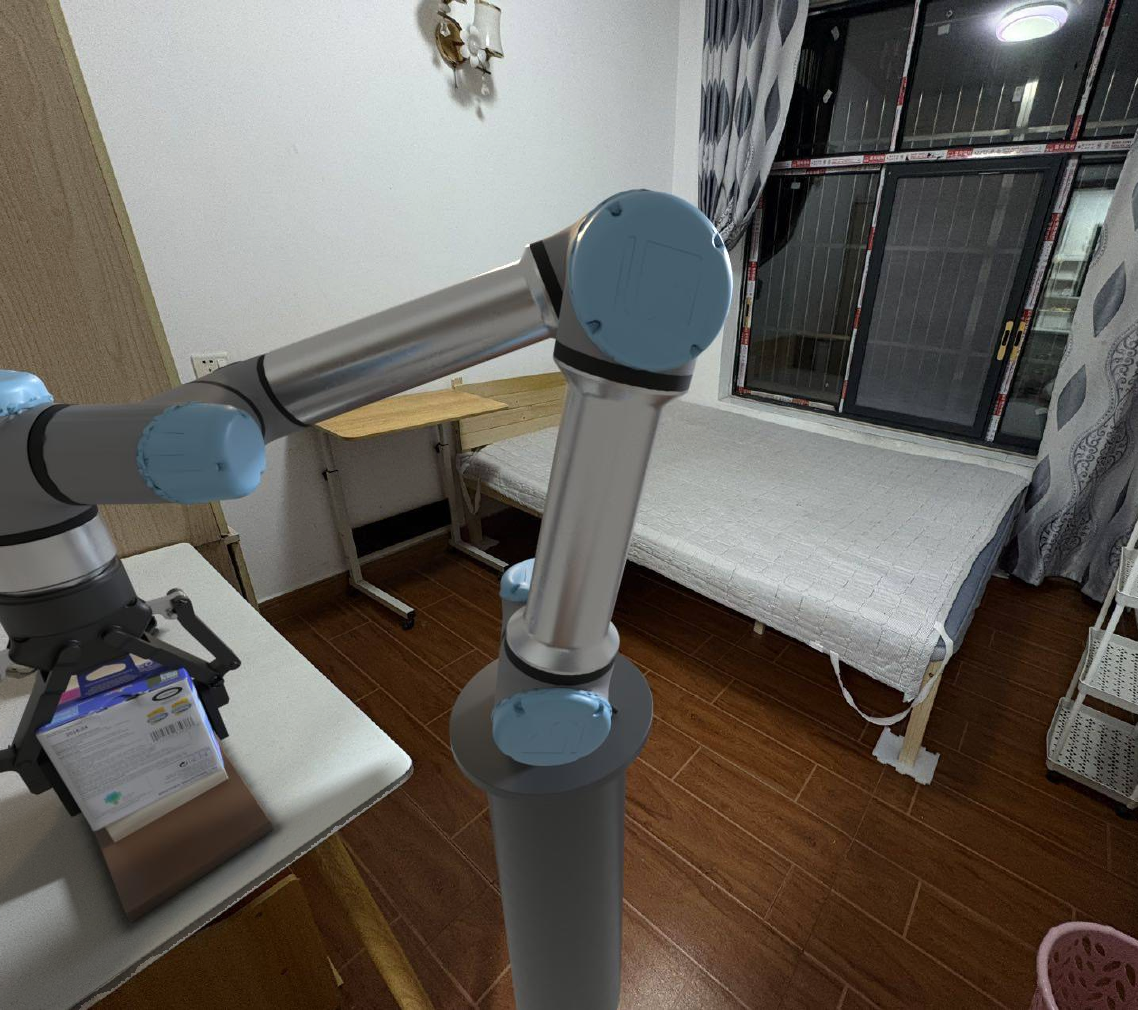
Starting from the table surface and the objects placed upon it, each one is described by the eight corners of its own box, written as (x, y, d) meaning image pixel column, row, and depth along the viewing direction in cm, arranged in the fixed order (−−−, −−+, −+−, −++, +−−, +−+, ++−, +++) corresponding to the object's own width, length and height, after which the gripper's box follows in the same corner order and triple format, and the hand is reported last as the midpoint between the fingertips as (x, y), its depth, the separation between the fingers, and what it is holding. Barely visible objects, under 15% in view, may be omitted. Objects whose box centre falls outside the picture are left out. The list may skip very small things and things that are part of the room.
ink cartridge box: (217, 736, 59) (172, 628, 53) (229, 768, 56) (182, 657, 49) (88, 794, 52) (19, 679, 46) (93, 835, 49) (19, 716, 43)
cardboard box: (274, 829, 61) (234, 729, 54) (131, 923, 52) (63, 817, 46) (204, 724, 73) (164, 632, 67) (79, 786, 64) (18, 687, 58)
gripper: (212, 511, 54) (270, 683, 63) (-197, 617, 37) (-34, 829, 46) (241, 536, 50) (298, 715, 59) (-203, 668, 33) (-23, 888, 43)
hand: (152, 765), depth 53 cm, fingers closed on ink cartridge box, 10 cm apart
